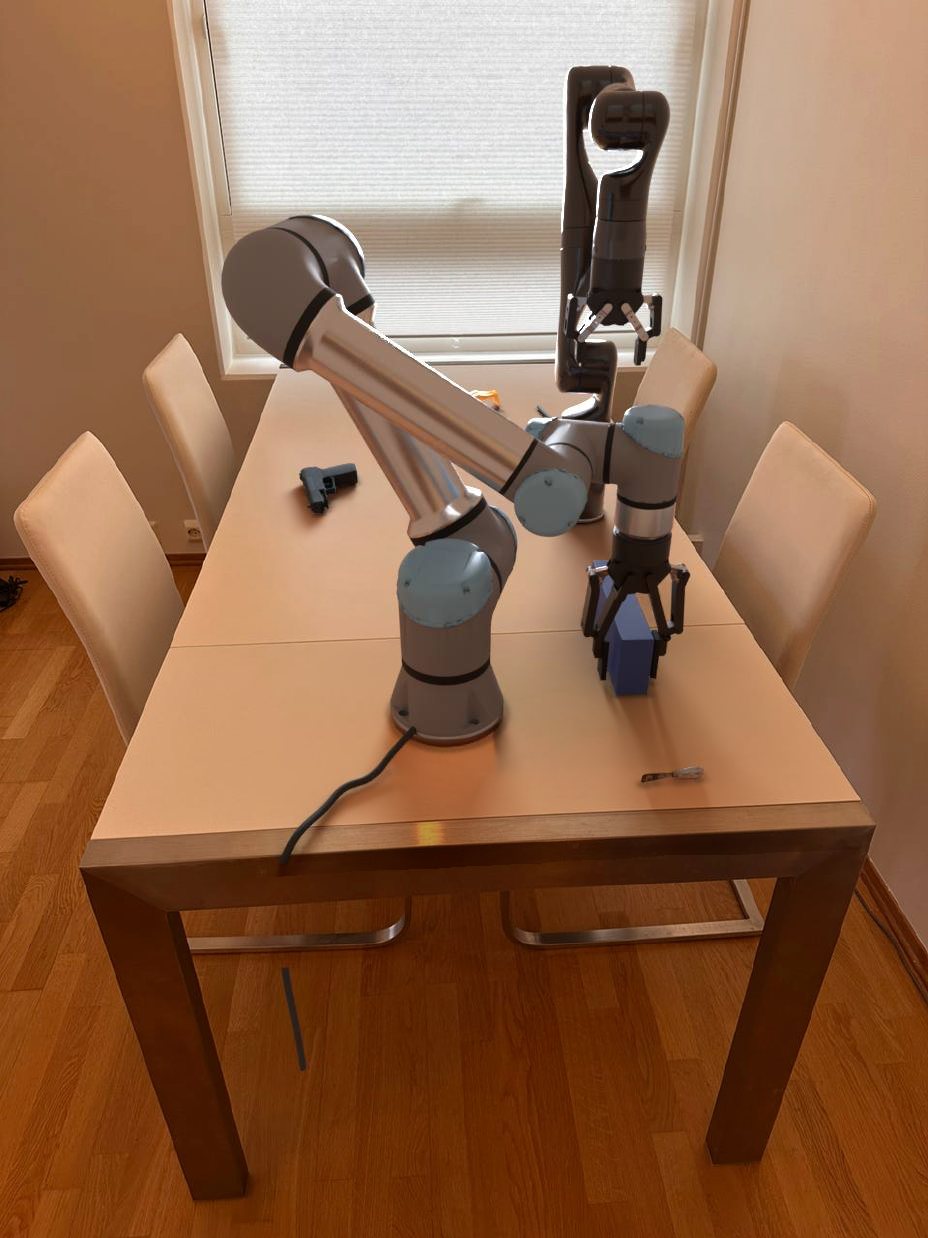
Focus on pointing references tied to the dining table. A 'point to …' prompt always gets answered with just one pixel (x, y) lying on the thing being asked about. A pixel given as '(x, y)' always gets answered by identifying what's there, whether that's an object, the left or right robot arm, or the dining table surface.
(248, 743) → the dining table surface
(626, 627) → the bar
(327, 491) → the handgun
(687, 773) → the putty knife
